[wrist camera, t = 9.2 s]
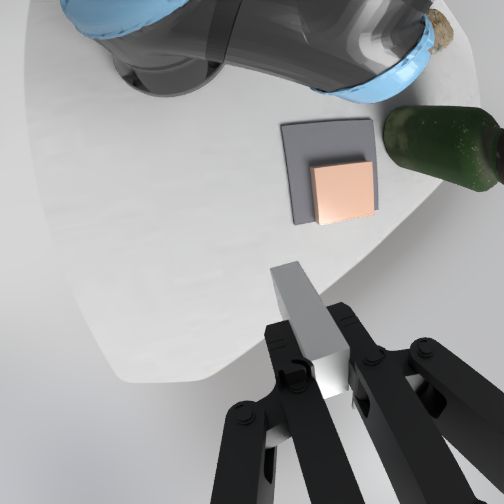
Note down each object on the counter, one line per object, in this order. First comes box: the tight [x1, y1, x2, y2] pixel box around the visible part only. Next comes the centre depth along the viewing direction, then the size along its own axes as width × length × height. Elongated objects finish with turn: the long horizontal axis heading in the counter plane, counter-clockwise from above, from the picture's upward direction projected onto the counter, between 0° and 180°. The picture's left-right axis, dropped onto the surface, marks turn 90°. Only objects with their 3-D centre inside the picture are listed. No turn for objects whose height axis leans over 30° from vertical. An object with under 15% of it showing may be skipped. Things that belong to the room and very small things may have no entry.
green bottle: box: [384, 106, 504, 192], centre depth 25 cm, size 10×10×25 cm
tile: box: [310, 160, 374, 225], centre depth 37 cm, size 8×2×9 cm
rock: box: [425, 9, 454, 54], centre depth 27 cm, size 8×11×4 cm
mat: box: [281, 120, 378, 225], centre depth 37 cm, size 14×14×1 cm
